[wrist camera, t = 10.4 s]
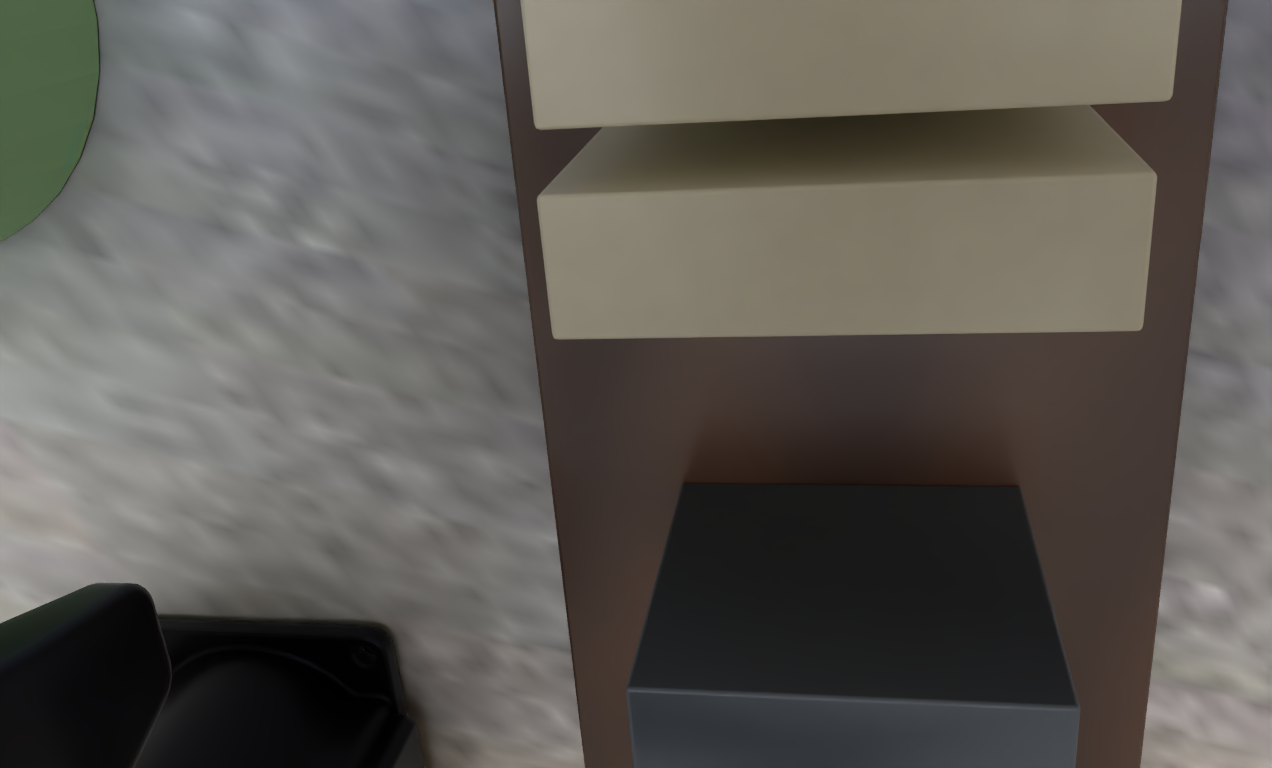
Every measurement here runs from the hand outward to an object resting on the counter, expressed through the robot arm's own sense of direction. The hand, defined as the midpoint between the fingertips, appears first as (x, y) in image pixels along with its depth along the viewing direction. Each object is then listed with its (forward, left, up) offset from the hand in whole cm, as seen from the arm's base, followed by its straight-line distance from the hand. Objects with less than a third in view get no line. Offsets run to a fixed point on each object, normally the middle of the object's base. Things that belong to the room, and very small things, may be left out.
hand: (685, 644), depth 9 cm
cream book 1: (+1, +4, -12) cm, 12 cm away
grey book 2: (+1, -6, -12) cm, 13 cm away
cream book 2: (+1, +2, -12) cm, 12 cm away
